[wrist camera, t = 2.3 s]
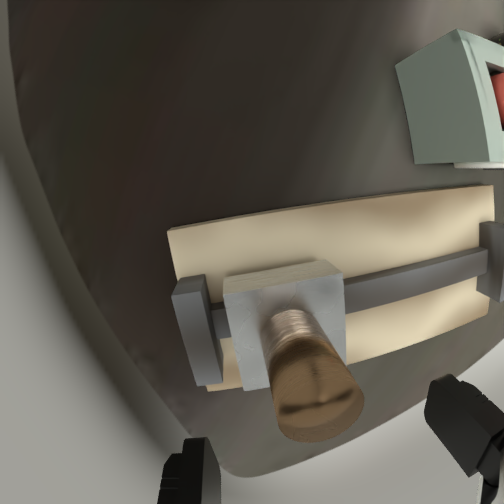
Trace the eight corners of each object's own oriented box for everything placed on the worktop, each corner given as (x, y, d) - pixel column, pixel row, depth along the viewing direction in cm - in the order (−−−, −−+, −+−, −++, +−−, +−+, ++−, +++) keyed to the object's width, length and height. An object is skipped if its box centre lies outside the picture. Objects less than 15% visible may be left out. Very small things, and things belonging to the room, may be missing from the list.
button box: (394, 65, 18) (456, 28, 10) (463, 76, 18) (524, 56, 10) (415, 171, 20) (490, 171, 12) (480, 168, 20) (548, 170, 12)
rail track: (171, 227, 19) (154, 240, 15) (481, 184, 20) (519, 187, 16) (208, 380, 22) (205, 420, 17) (478, 308, 23) (508, 326, 18)
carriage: (223, 272, 18) (219, 364, 9) (321, 255, 18) (404, 323, 9) (241, 356, 19) (252, 473, 10) (327, 339, 20) (388, 439, 10)
